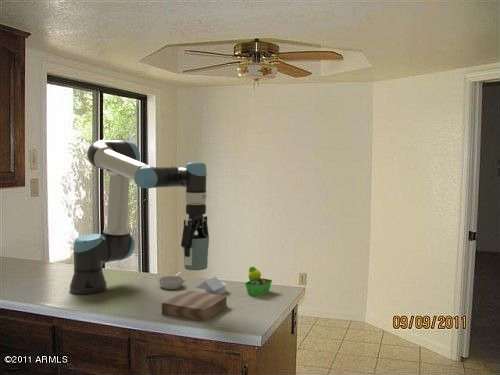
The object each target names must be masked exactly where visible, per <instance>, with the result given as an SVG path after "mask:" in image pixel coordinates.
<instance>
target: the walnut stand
mask: <svg viewBox="0 0 500 375" xmlns="http://www.w3.org/2000/svg"><path fill="white" fill-rule="evenodd" d="M227 298H228V296H226V295H223V294H221V295H215V294H209V293H205V292H200V291H195V290H189V289H187V290H185V291H182V292H180V293H179V294H177V295H175V296H172V297H170V298H168V299H166V300H164V301H163V302H161V314H164V315H169V316H175V317H180V318H186V319H192V320H198V321H204V322H205V321H206V320H208V319H209V318H211V317H212V316H214V315H215V314H217V313H218V312H220V311H221V310H224V308H226V307H227Z"/></svg>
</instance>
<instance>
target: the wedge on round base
mask: <svg viewBox="0 0 500 375" xmlns="http://www.w3.org/2000/svg"><path fill="white" fill-rule="evenodd" d="M226 286H227V285H226V283H225V282H223V281H220V280H219V279H218V277H216V276H214V277H211V278H209V279H207V280H205V281H204V282H202V283H200V284H199V285H198V286H196V287H195V288H196V289H201V290H204V293H209V294H215V295H223V294H225V293H226V290H227V289H226V288H227V287H226Z"/></svg>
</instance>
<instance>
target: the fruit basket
mask: <svg viewBox="0 0 500 375" xmlns="http://www.w3.org/2000/svg"><path fill="white" fill-rule="evenodd" d="M247 276H248V279H249V281H246V282H244V285H245V288H246V291H247V294H248V295H249V296H253V297H257V296H258V297H260V296H262V295H265V294H266V293H269V292H270V288H271V285H272V283H273V280H272V279H268V278H263V277H261V276H262V274H261V271H260V270H258V269H257V268H256V267H255V266H249V268H248V274H247Z"/></svg>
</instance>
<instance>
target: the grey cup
mask: <svg viewBox="0 0 500 375" xmlns="http://www.w3.org/2000/svg"><path fill="white" fill-rule="evenodd" d="M209 242H210V235H209V236H207V235H204V237H203V238H201V237H199V236H198V234H194V237H193V239H192V245H191V248H192V265H191V266H190V265H185V248H183V259H184V261H183V262H184V263H183V264H184V269H185V270H187V271H203V270H207V269H208V264H209V263H208V258H209V245H210V243H209Z"/></svg>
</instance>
